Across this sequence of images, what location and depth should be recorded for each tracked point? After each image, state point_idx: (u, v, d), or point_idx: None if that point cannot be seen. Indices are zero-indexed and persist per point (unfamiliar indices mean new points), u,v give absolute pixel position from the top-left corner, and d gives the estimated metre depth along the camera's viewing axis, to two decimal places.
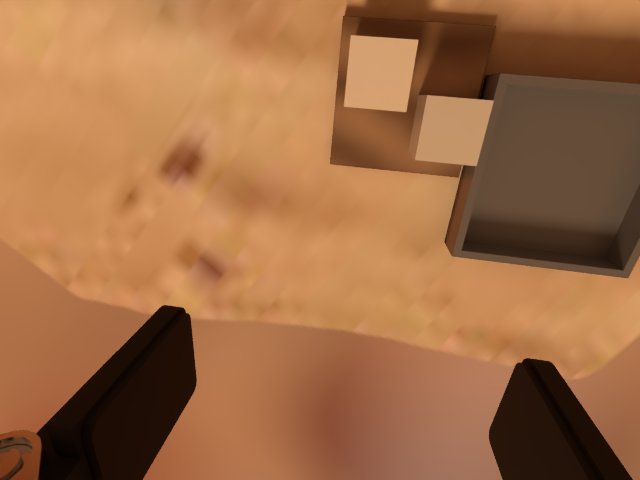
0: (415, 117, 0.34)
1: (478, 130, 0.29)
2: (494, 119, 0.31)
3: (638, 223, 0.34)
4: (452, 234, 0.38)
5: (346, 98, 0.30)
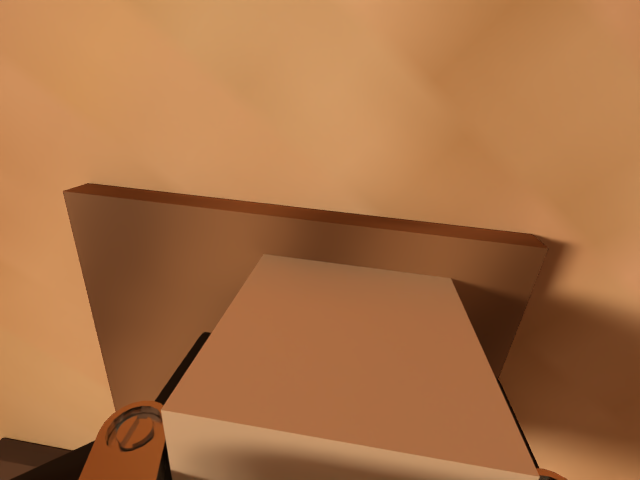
0: None
1: None
2: None
3: None
4: None
5: (205, 425, 0.05)
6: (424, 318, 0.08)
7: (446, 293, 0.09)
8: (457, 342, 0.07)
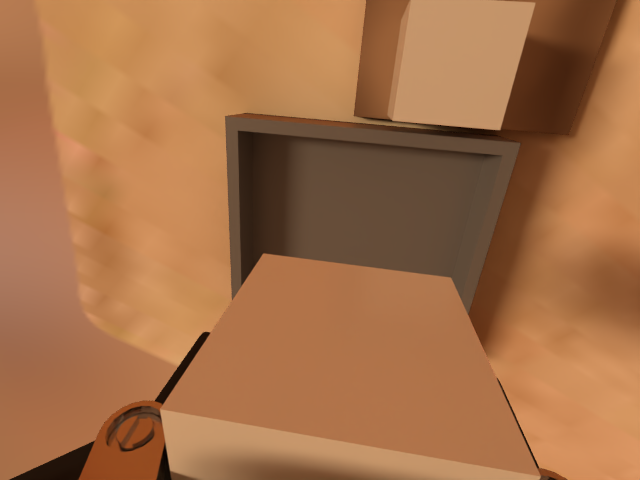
0: None
1: (454, 113, 0.17)
2: (452, 146, 0.20)
3: None
4: (262, 117, 0.23)
5: (204, 424, 0.05)
6: (424, 318, 0.08)
7: (447, 292, 0.09)
8: (457, 341, 0.07)
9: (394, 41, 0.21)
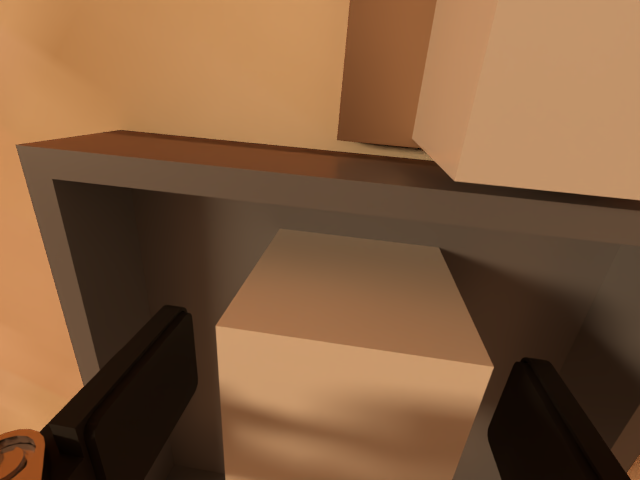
0: None
1: None
2: (595, 231, 0.08)
3: None
4: (128, 143, 0.10)
5: (248, 337, 0.07)
6: (415, 274, 0.10)
7: (434, 257, 0.11)
8: (440, 289, 0.09)
9: None
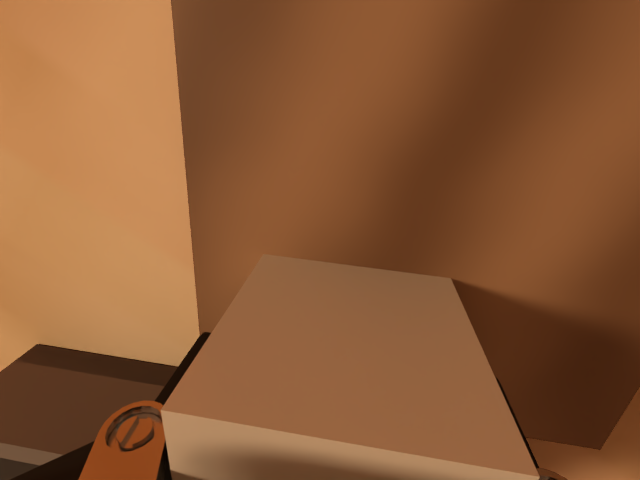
0: (378, 283, 0.09)
1: None
2: None
3: None
4: (28, 394, 0.12)
5: None
6: None
7: None
8: None
9: None
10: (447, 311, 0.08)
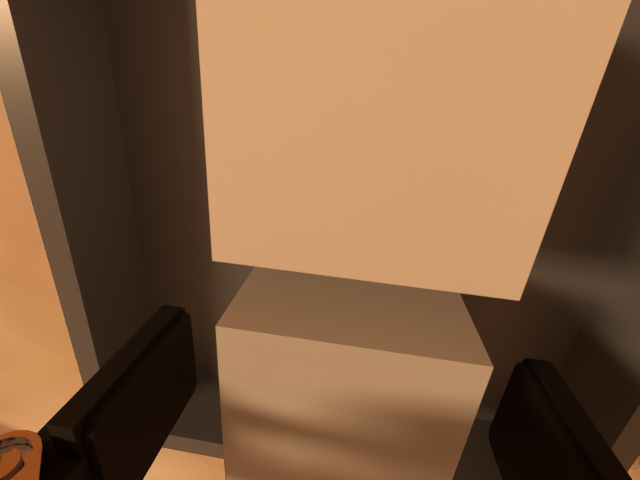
0: None
1: None
2: None
3: None
4: None
5: None
6: None
7: None
8: None
9: None
10: None
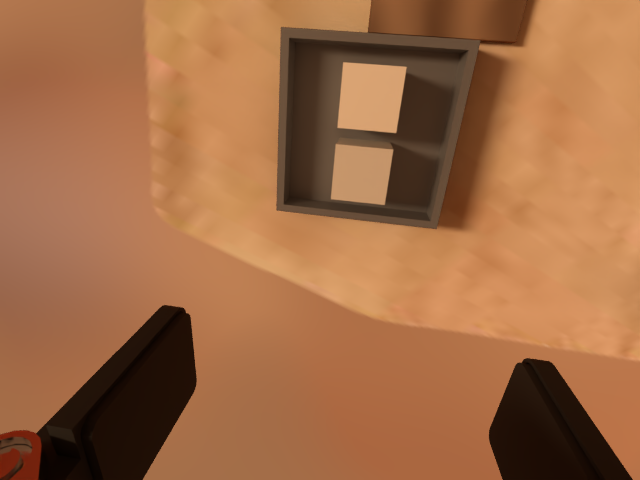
0: (371, 141, 0.36)
1: (361, 196, 0.34)
2: (435, 44, 0.30)
3: (327, 206, 0.39)
4: None
5: (350, 64, 0.30)
6: None
7: None
8: None
9: None
10: (386, 143, 0.35)
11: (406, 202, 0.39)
